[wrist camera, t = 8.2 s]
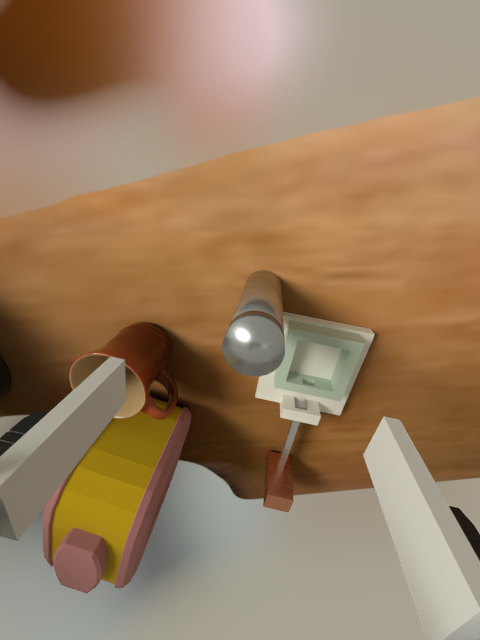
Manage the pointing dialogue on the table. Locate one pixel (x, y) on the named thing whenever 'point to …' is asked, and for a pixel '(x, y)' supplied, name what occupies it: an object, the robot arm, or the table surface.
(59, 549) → the alarm clock
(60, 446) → the robot arm
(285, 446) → the pin
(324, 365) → the dock
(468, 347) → the table surface
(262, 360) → the silver metal cylinder
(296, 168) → the table surface
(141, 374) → the mug
